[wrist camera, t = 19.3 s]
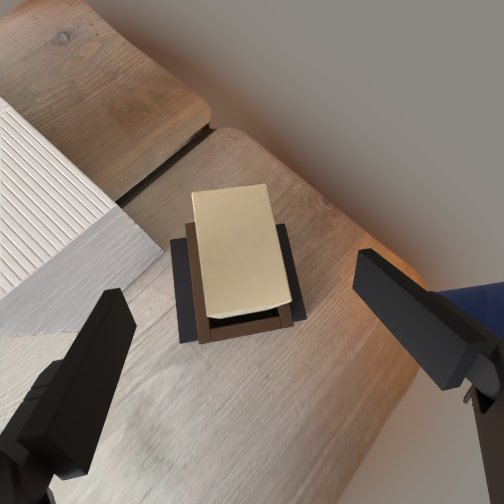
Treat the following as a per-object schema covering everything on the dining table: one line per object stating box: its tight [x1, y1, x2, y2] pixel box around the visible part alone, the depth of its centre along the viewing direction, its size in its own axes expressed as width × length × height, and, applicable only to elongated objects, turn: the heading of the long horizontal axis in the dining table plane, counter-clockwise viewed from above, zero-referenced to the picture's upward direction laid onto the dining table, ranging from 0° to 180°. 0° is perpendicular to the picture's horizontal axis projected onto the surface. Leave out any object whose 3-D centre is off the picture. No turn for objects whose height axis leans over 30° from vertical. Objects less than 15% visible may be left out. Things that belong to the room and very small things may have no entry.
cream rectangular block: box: [192, 183, 292, 319], centre depth 18 cm, size 4×7×11 cm, turn 10°
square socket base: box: [170, 222, 307, 344], centre depth 23 cm, size 12×10×4 cm
